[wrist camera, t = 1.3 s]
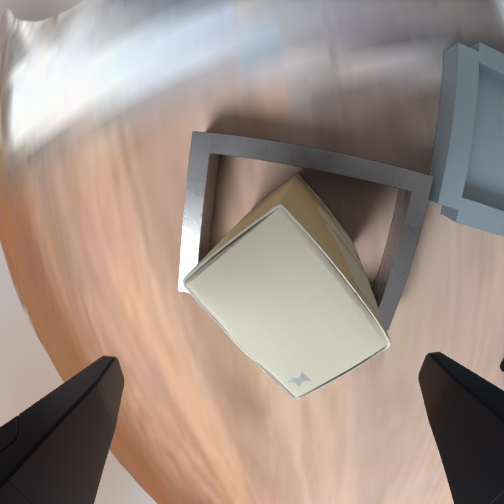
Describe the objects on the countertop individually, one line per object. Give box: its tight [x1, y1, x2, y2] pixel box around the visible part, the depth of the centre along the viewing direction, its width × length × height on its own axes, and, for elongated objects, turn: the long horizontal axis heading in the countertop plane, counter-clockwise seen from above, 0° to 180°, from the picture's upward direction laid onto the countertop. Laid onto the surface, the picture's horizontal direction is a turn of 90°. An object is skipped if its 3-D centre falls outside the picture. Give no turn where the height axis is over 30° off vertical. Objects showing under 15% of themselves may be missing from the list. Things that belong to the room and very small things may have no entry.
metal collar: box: [178, 131, 433, 330], centre depth 20 cm, size 14×10×2 cm
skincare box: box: [182, 174, 391, 400], centre depth 16 cm, size 6×4×12 cm
